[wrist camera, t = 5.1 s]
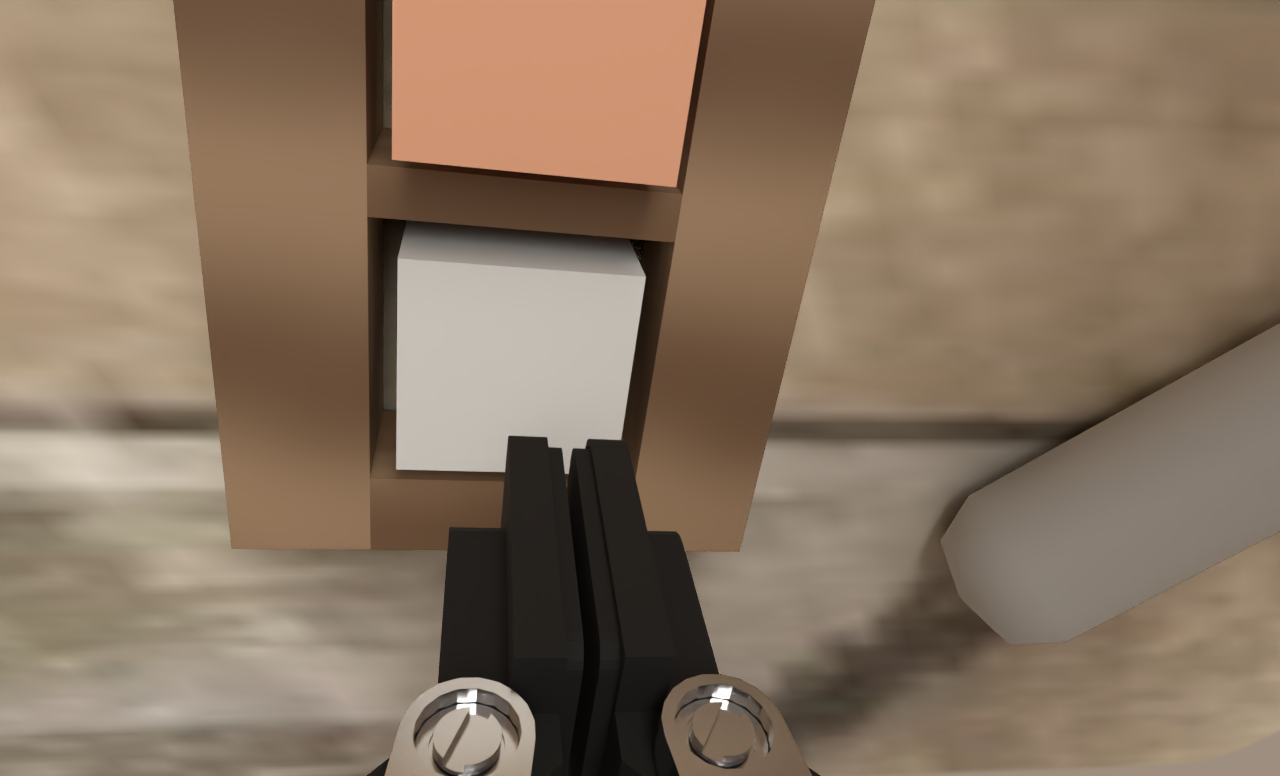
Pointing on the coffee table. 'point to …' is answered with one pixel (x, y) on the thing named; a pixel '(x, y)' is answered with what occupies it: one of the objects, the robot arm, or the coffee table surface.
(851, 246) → the coffee table surface
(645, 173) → the key mid
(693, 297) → the wooden tray
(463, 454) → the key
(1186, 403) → the tube
